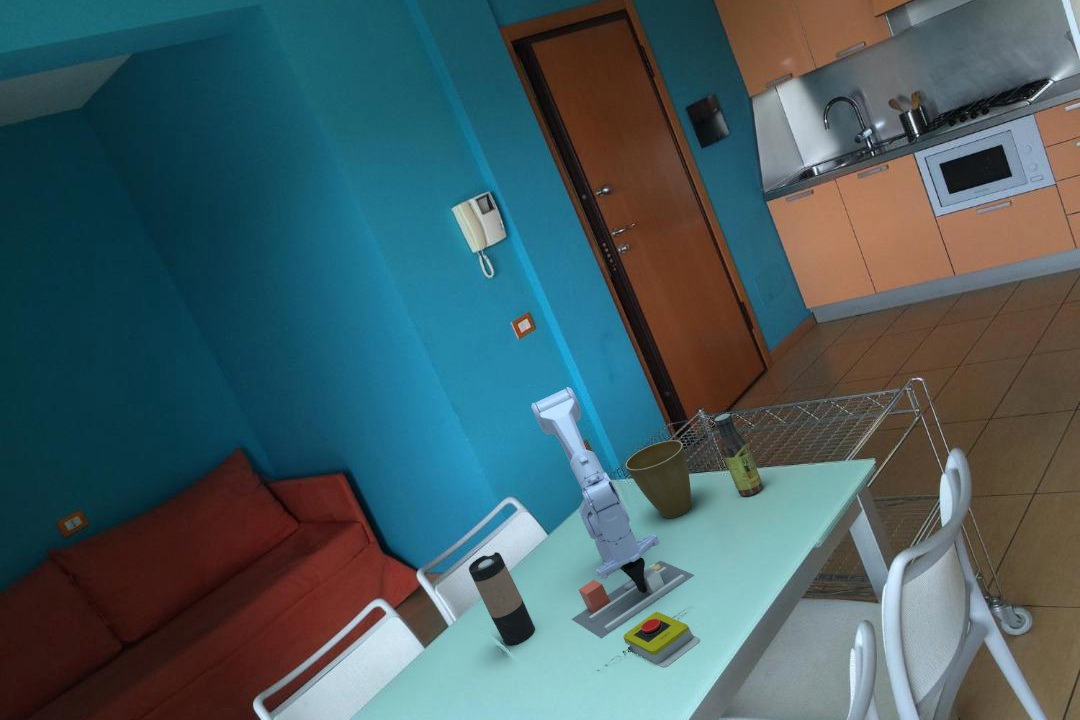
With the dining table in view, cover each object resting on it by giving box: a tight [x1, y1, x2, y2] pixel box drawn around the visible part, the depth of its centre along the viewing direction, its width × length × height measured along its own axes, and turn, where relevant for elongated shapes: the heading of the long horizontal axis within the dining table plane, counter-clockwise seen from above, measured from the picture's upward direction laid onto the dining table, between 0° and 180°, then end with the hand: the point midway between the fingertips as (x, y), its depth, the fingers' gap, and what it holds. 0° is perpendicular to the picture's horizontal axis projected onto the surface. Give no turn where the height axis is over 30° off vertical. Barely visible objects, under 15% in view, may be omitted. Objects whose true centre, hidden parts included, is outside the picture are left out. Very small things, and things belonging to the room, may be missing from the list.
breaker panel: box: [571, 560, 695, 639], centre depth 192 cm, size 14×24×2 cm, turn 114°
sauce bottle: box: [714, 413, 763, 497], centre depth 219 cm, size 6×6×20 cm
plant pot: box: [625, 439, 692, 519], centre depth 226 cm, size 15×15×16 cm
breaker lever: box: [644, 566, 665, 594], centre depth 191 cm, size 4×3×4 cm
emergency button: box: [622, 611, 701, 669], centre depth 173 cm, size 9×4×15 cm
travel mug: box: [468, 552, 536, 647], centre depth 196 cm, size 8×8×20 cm
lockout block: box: [578, 579, 611, 613], centre depth 194 cm, size 4×4×5 cm
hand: (643, 590), depth 190 cm, fingers closed
